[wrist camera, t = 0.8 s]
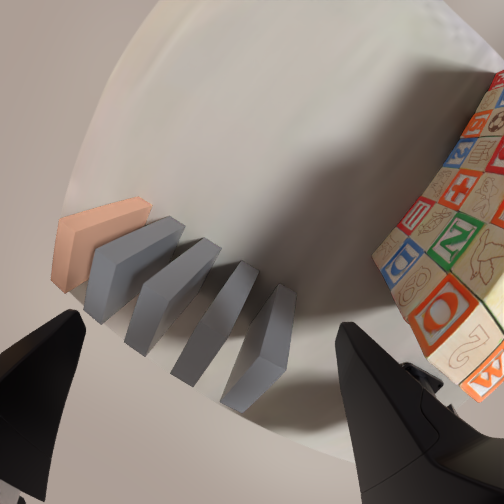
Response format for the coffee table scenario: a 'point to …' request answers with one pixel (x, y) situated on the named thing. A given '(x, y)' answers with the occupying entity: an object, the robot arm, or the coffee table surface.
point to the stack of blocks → (457, 256)
